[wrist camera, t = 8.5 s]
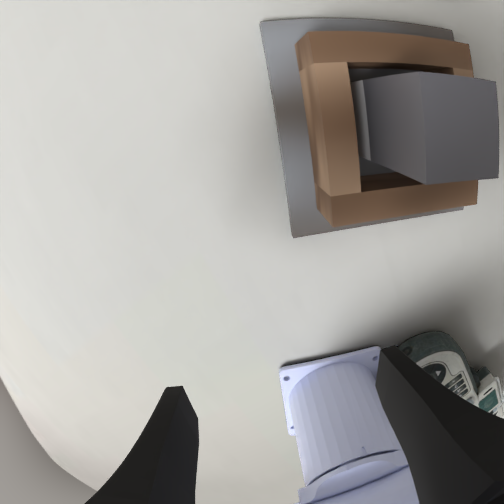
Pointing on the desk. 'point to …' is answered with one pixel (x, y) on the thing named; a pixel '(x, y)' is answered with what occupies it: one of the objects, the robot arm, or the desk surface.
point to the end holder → (350, 119)
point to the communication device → (455, 370)
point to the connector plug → (429, 125)
